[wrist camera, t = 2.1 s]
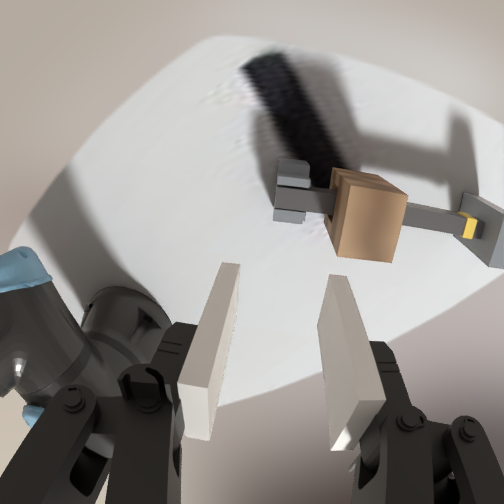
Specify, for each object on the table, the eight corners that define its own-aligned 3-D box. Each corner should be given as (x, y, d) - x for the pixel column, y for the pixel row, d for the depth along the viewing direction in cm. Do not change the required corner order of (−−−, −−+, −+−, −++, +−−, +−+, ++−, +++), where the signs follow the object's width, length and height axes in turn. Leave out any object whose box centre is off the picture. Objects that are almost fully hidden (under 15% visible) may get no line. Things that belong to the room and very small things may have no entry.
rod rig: (273, 209, 35) (271, 239, 27) (279, 157, 32) (279, 171, 24) (468, 238, 34) (504, 269, 25) (480, 196, 31) (520, 219, 23)
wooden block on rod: (323, 221, 32) (337, 256, 25) (332, 167, 30) (350, 185, 22) (367, 227, 32) (391, 262, 24) (377, 174, 30) (408, 195, 22)
